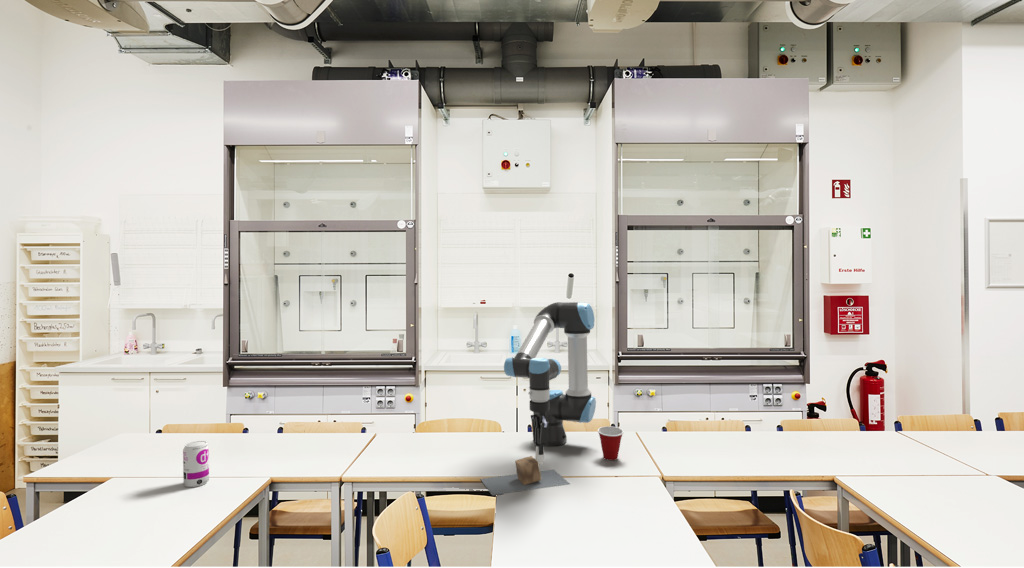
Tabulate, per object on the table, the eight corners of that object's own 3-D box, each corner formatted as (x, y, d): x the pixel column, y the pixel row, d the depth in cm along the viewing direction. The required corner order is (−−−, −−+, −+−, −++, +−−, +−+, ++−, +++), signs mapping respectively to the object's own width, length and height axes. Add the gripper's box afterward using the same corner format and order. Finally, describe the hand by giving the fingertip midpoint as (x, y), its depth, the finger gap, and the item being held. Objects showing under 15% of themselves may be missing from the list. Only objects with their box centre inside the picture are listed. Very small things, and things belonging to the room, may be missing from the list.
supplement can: (214, 481, 207) (213, 441, 207) (195, 489, 199) (194, 448, 199) (197, 478, 209) (197, 439, 209) (178, 486, 202) (177, 446, 201)
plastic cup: (600, 462, 224) (600, 433, 224) (595, 454, 235) (595, 426, 234) (626, 462, 225) (626, 433, 224) (620, 453, 235) (619, 425, 235)
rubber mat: (553, 470, 216) (553, 469, 216) (570, 484, 201) (570, 484, 201) (480, 479, 207) (480, 478, 207) (492, 495, 191) (492, 494, 191)
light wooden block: (532, 455, 208) (515, 460, 206) (538, 461, 202) (521, 466, 199) (535, 473, 209) (517, 478, 207) (541, 479, 202) (524, 485, 200)
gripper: (524, 397, 210) (524, 457, 211) (536, 404, 198) (536, 469, 198) (542, 395, 212) (542, 455, 213) (555, 403, 200) (555, 466, 201)
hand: (539, 462), depth 206 cm, fingers closed
